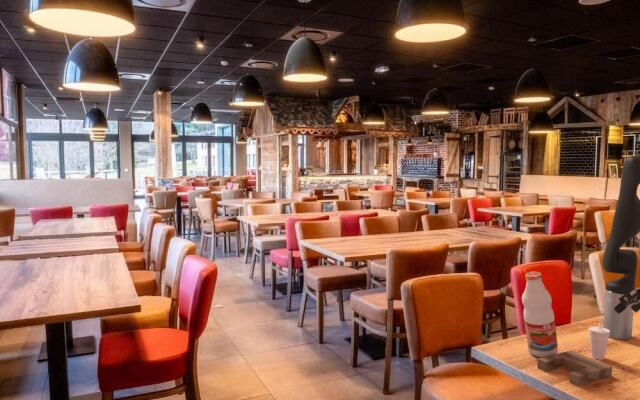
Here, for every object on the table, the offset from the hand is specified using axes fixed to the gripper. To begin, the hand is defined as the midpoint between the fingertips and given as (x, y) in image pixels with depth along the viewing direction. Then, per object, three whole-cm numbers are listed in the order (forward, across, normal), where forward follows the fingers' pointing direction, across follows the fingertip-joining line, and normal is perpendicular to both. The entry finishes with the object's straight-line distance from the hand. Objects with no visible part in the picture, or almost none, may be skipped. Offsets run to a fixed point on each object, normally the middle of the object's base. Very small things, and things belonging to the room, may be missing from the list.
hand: (624, 310), depth 157 cm
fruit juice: (+25, +14, -2) cm, 29 cm away
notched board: (+17, +17, +10) cm, 26 cm away
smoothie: (+19, -1, +5) cm, 20 cm away
